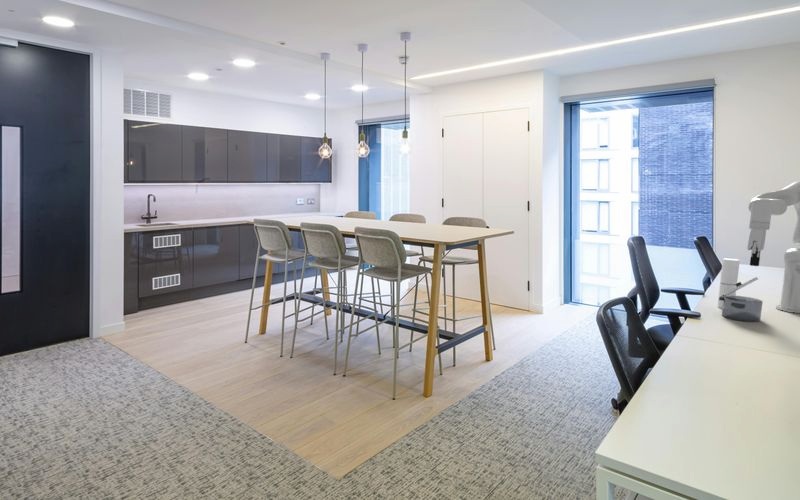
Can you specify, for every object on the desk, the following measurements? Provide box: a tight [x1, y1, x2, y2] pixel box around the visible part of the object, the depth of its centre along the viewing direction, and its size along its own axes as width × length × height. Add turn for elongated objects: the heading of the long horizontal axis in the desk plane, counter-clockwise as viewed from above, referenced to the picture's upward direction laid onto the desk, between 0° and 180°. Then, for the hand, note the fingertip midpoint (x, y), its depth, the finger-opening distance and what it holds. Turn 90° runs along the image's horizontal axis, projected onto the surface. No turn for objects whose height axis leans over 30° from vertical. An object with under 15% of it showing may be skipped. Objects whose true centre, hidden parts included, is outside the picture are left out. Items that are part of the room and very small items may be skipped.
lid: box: [723, 276, 759, 296], centre depth 231 cm, size 16×16×3 cm
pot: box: [718, 295, 763, 323], centre depth 232 cm, size 20×16×9 cm
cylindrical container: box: [717, 257, 741, 309], centre depth 250 cm, size 7×7×25 cm
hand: (754, 265), depth 226 cm, fingers closed
